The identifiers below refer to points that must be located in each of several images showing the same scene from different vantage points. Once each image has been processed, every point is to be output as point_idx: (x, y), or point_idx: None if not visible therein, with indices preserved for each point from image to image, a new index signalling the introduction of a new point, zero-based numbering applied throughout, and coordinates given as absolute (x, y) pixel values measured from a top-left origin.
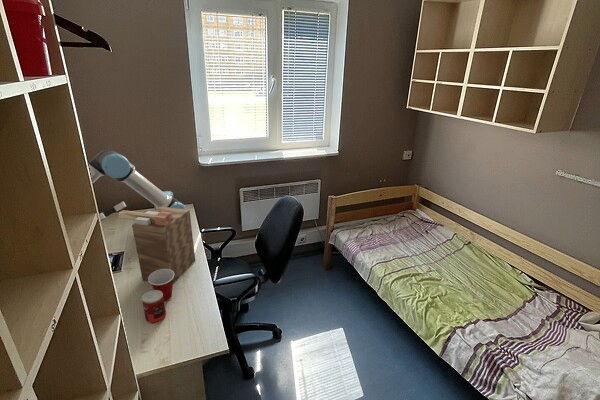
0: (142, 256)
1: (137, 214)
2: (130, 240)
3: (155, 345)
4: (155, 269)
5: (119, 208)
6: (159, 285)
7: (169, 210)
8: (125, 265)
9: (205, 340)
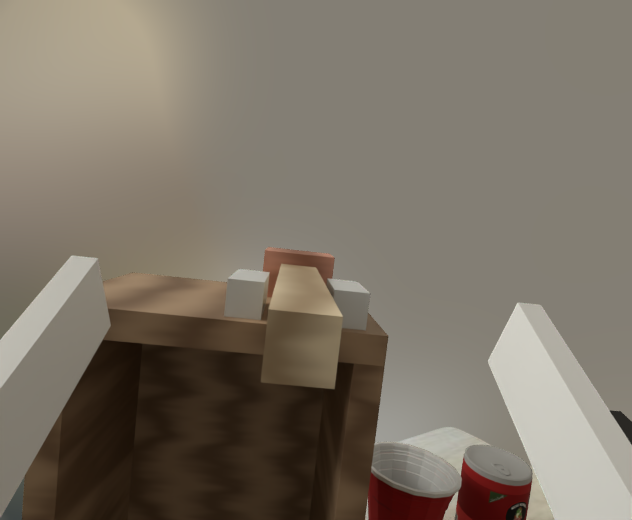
0: None
1: (316, 283)
2: None
3: (546, 507)
4: None
5: (45, 416)
6: (443, 469)
7: (133, 289)
8: None
9: (457, 444)
